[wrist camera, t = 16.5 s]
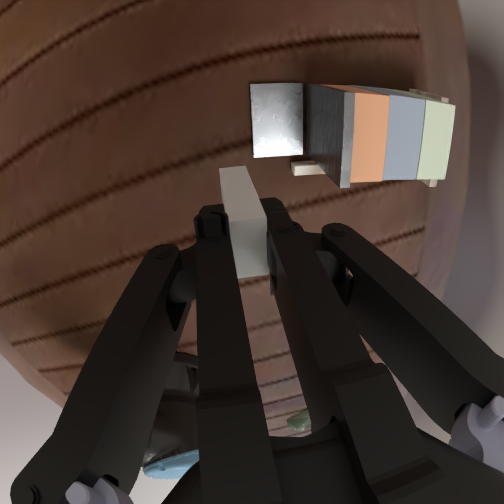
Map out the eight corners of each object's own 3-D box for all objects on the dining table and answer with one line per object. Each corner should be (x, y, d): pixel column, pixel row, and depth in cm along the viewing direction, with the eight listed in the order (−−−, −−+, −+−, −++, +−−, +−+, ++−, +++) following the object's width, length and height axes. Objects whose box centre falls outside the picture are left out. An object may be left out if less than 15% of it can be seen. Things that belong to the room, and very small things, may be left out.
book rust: (312, 153, 36) (343, 182, 28) (312, 84, 31) (348, 92, 23) (344, 152, 37) (382, 181, 29) (347, 85, 32) (389, 96, 24)
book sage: (375, 151, 37) (416, 179, 29) (379, 87, 32) (426, 100, 24) (401, 152, 37) (444, 179, 29) (406, 91, 32) (455, 105, 24)
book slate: (344, 151, 37) (382, 180, 29) (347, 84, 32) (390, 94, 23) (374, 151, 37) (415, 179, 29) (378, 87, 32) (425, 99, 24)
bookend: (253, 156, 36) (271, 193, 26) (249, 84, 30) (267, 91, 21) (313, 152, 36) (349, 187, 27) (313, 83, 31) (355, 92, 22)
